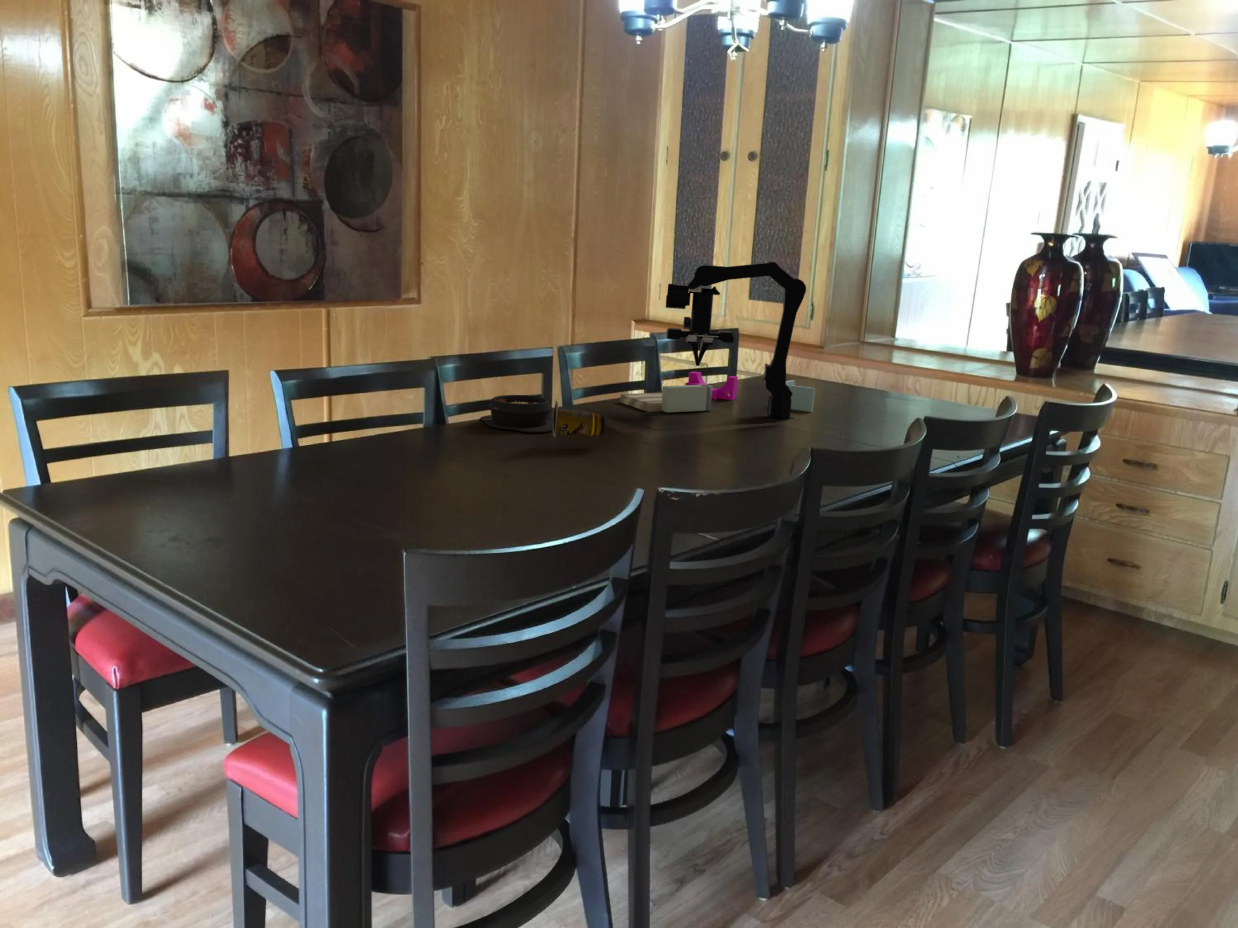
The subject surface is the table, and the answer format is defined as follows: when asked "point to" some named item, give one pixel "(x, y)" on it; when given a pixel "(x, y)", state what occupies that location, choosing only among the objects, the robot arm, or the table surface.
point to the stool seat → (643, 401)
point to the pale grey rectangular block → (686, 398)
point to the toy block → (719, 393)
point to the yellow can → (577, 423)
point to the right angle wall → (801, 397)
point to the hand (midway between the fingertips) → (697, 365)
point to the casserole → (520, 413)
